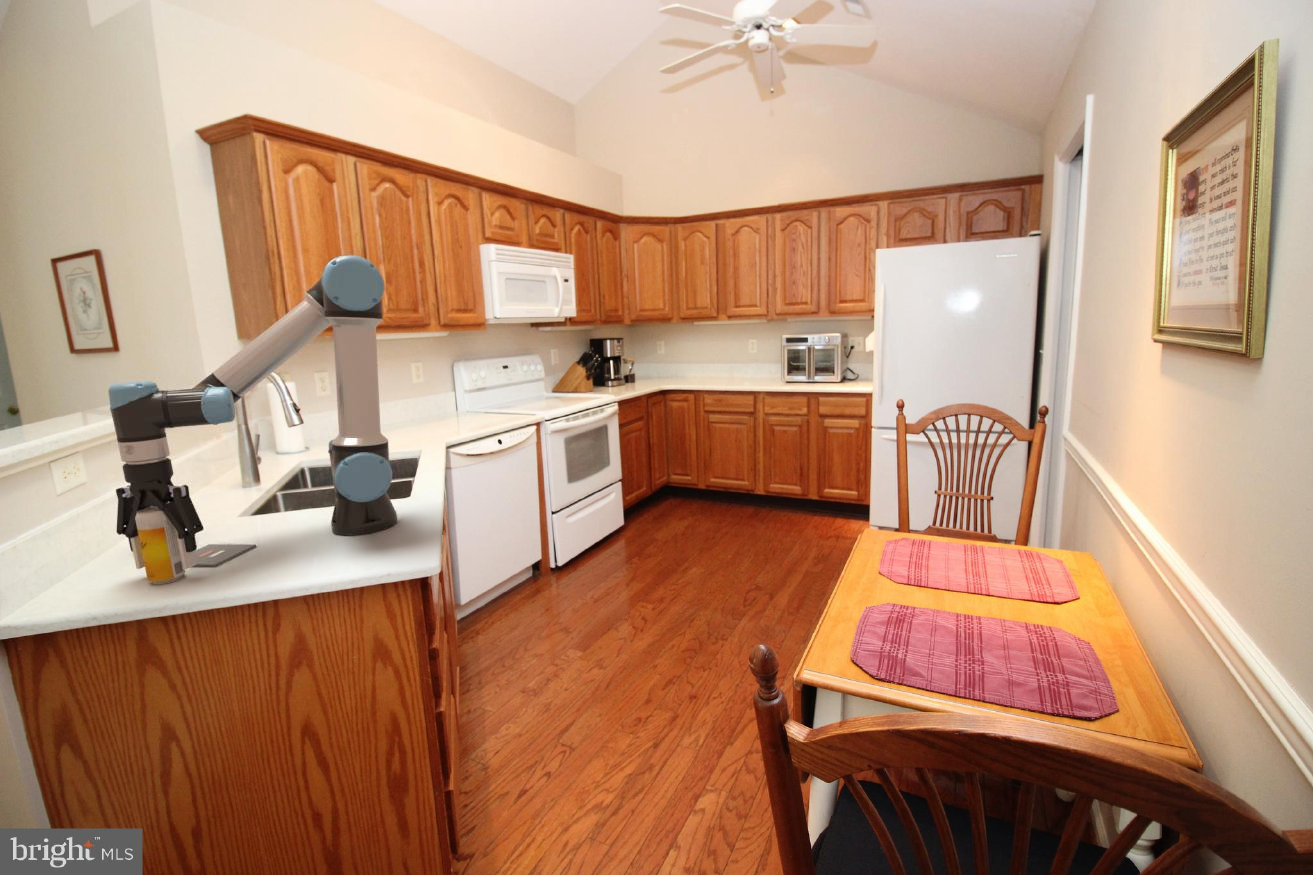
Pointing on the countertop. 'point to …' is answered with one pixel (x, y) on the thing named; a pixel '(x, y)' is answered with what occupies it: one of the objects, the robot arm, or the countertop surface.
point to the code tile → (219, 553)
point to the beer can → (159, 546)
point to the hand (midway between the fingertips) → (167, 566)
